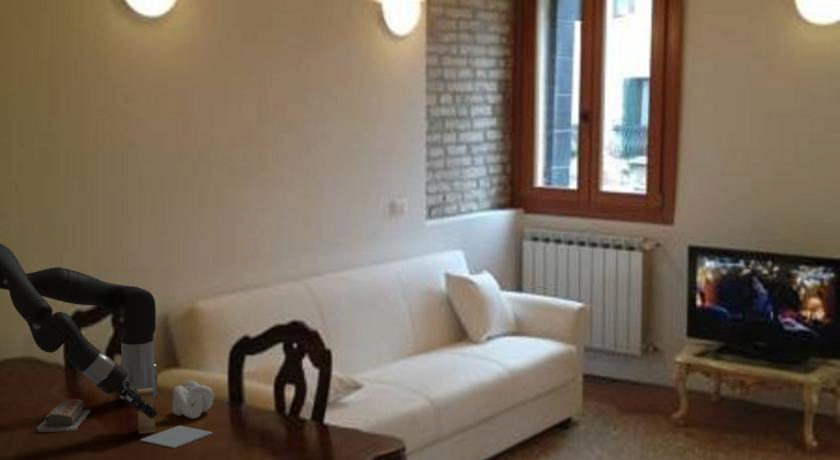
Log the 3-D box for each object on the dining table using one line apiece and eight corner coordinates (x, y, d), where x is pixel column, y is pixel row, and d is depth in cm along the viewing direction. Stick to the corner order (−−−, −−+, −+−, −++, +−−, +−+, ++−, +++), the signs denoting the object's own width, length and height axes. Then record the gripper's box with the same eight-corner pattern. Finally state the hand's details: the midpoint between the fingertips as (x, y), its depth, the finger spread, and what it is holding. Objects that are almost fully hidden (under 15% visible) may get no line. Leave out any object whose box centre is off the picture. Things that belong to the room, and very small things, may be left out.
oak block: (138, 429, 270) (137, 389, 269) (153, 428, 272) (152, 388, 270) (139, 433, 266) (137, 393, 265) (155, 432, 268) (153, 391, 267)
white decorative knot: (159, 415, 283) (158, 384, 283) (195, 406, 292) (194, 376, 291) (182, 423, 276) (181, 391, 275) (219, 414, 285) (218, 382, 284)
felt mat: (179, 426, 272) (179, 425, 272) (212, 433, 266) (212, 432, 266) (140, 441, 260) (140, 439, 260) (174, 448, 254) (174, 446, 254)
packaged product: (53, 398, 286) (90, 397, 287) (54, 414, 286) (90, 413, 287) (36, 416, 268) (74, 414, 269) (36, 434, 269) (75, 432, 269)
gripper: (93, 377, 270) (142, 417, 275) (94, 390, 257) (145, 432, 262) (113, 356, 271) (161, 396, 276) (115, 368, 258) (166, 410, 263)
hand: (153, 413), depth 269 cm, fingers closed on oak block, 4 cm apart
